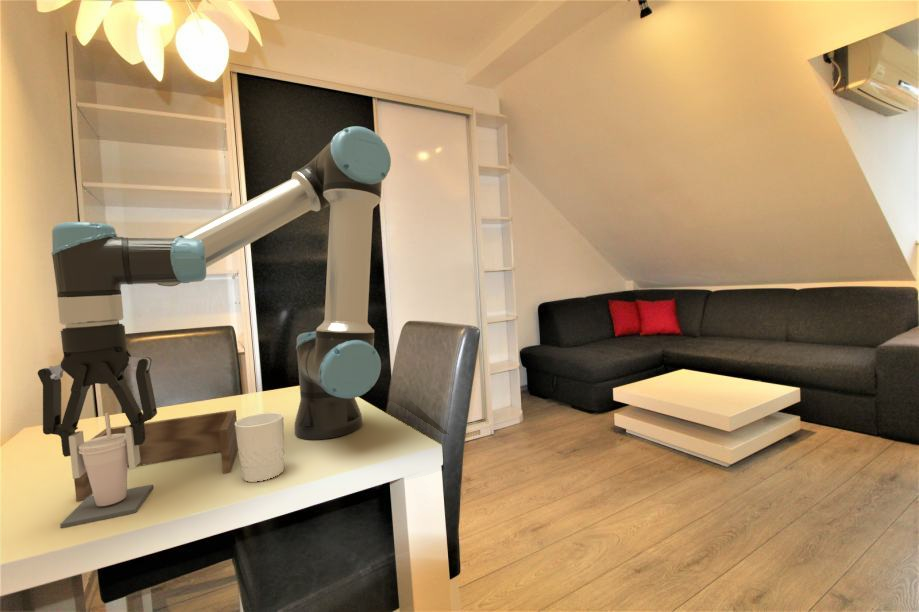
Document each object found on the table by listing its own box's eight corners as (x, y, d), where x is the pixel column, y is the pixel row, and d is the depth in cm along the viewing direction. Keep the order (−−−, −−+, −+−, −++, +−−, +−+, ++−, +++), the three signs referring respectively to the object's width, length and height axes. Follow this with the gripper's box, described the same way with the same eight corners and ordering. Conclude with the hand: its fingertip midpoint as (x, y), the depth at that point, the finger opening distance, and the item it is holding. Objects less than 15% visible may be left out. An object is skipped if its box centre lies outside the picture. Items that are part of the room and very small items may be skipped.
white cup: (233, 475, 76) (228, 420, 76) (277, 461, 82) (273, 410, 81) (248, 488, 71) (243, 429, 70) (294, 472, 76) (290, 417, 76)
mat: (153, 487, 73) (153, 484, 73) (135, 512, 65) (135, 508, 65) (88, 500, 70) (87, 496, 70) (60, 528, 61) (60, 524, 61)
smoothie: (139, 498, 67) (130, 411, 66) (85, 515, 63) (75, 422, 62) (133, 486, 72) (125, 404, 71) (83, 501, 67) (73, 414, 67)
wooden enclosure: (238, 446, 91) (235, 409, 90) (230, 472, 78) (226, 429, 77) (110, 468, 83) (106, 428, 82) (76, 501, 70) (71, 453, 69)
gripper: (172, 318, 73) (184, 449, 74) (26, 328, 66) (42, 473, 67) (160, 320, 66) (173, 466, 67) (-5, 332, 59) (13, 494, 60)
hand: (108, 469), depth 67 cm, fingers closed on smoothie, 6 cm apart
